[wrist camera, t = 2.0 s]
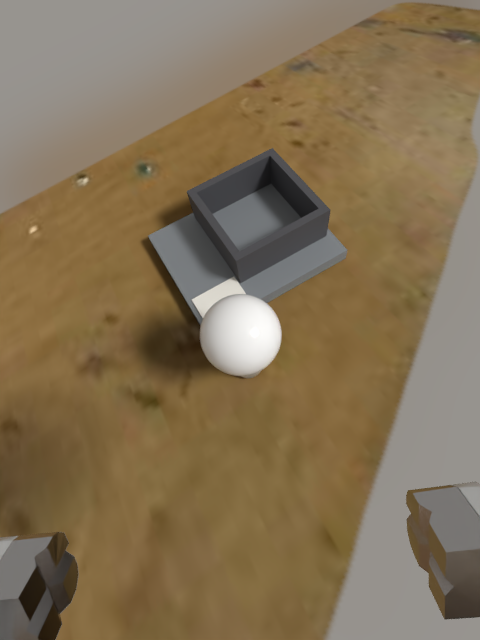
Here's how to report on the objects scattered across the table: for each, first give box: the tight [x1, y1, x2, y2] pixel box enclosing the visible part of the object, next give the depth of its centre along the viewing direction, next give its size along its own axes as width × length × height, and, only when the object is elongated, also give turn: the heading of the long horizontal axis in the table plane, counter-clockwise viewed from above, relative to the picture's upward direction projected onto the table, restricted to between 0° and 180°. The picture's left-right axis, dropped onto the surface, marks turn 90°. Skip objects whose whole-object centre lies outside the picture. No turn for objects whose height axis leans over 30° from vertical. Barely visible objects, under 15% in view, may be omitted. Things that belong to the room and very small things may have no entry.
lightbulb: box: [200, 294, 282, 378], centre depth 32 cm, size 6×6×11 cm
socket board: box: [148, 148, 347, 326], centre depth 40 cm, size 17×14×6 cm
